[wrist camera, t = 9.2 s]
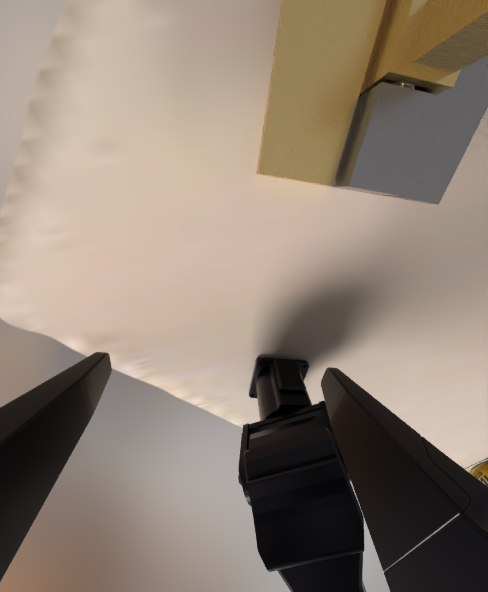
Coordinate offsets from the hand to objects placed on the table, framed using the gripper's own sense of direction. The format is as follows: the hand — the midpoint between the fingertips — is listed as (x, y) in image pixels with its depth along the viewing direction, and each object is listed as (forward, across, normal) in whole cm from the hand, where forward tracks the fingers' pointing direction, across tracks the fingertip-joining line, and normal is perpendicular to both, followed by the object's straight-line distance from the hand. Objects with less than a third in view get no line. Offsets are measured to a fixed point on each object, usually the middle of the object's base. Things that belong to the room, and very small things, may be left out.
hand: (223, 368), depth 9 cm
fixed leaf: (+13, -12, -15) cm, 24 cm away
